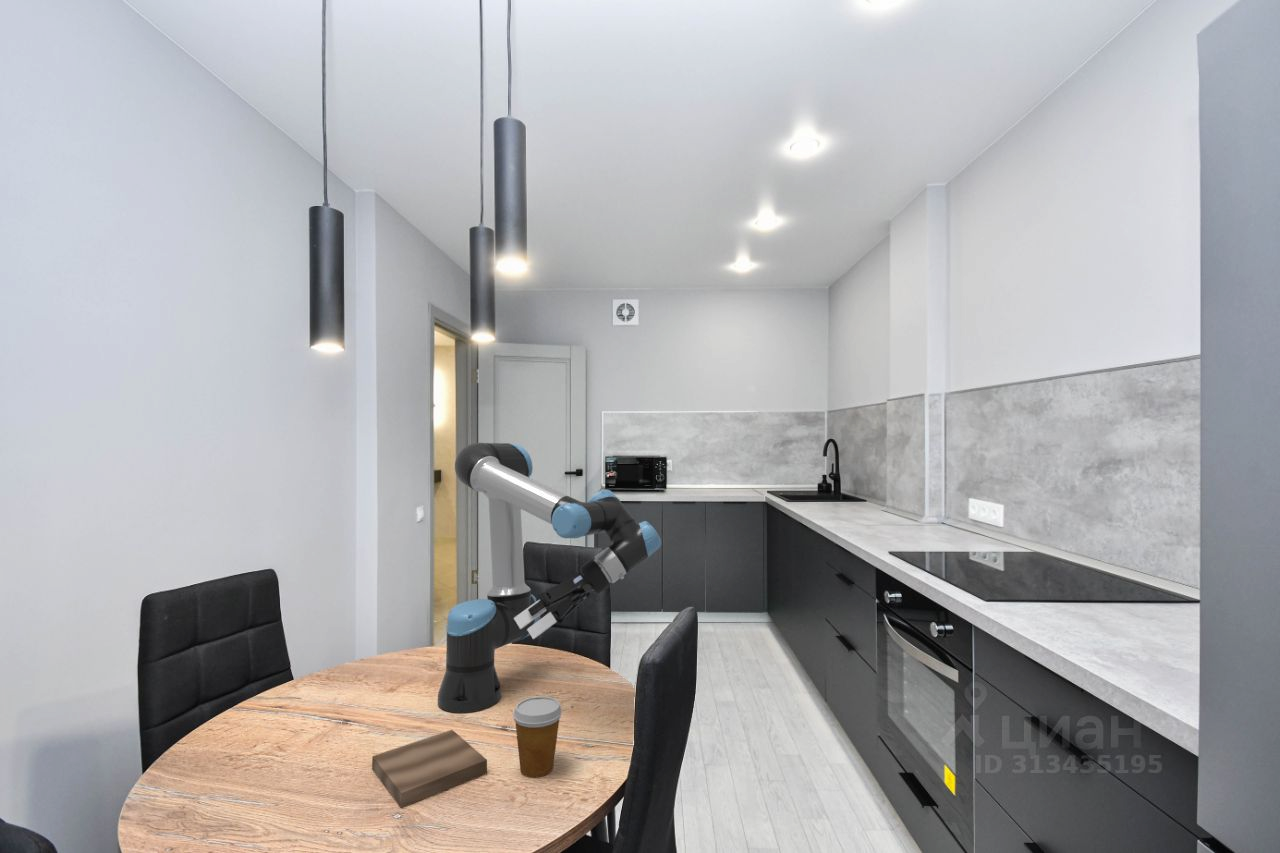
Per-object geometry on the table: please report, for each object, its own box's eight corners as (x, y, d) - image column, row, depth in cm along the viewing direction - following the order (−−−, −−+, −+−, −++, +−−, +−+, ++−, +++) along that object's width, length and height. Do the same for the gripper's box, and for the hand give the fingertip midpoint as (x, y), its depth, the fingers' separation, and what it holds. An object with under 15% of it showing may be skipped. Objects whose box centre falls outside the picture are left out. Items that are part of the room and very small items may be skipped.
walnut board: (372, 769, 108) (372, 756, 108) (451, 741, 119) (452, 729, 119) (401, 807, 96) (401, 793, 96) (486, 773, 107) (487, 759, 107)
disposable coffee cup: (569, 760, 111) (570, 699, 112) (546, 787, 102) (547, 720, 103) (527, 752, 115) (528, 692, 115) (502, 777, 106) (503, 712, 106)
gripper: (607, 569, 117) (520, 634, 111) (615, 596, 139) (543, 651, 133) (587, 542, 120) (501, 603, 114) (598, 572, 142) (526, 625, 136)
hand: (523, 629), depth 124 cm, fingers open, 13 cm apart
